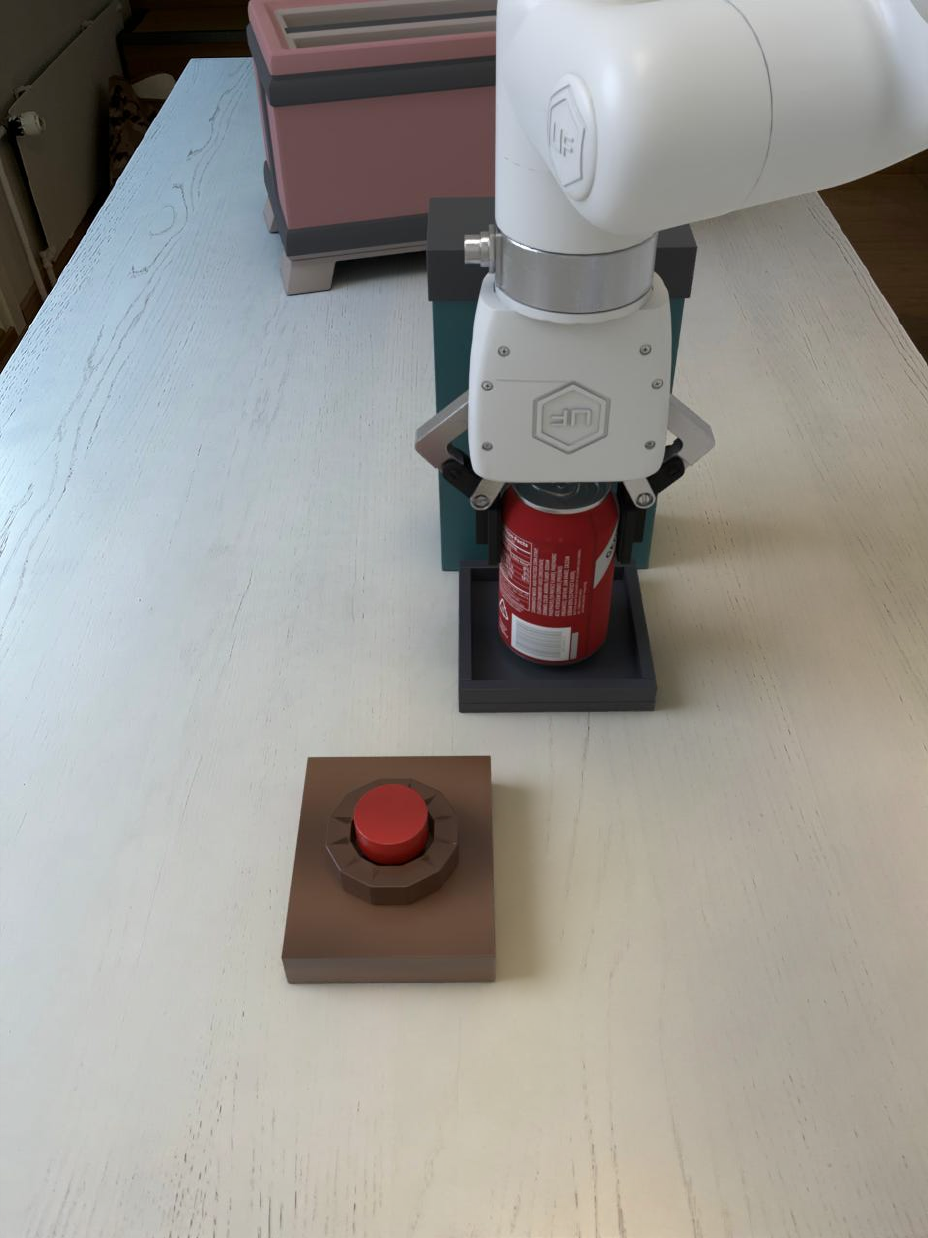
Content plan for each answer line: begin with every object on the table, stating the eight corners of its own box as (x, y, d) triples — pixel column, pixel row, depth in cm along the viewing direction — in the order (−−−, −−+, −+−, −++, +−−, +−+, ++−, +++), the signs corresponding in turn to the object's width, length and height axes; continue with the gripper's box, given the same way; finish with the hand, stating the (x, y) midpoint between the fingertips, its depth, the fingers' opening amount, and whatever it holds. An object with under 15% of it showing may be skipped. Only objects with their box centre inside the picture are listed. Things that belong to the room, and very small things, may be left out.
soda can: (573, 689, 65) (586, 532, 57) (478, 646, 68) (476, 490, 59) (625, 622, 69) (644, 467, 61) (533, 585, 72) (539, 431, 63)
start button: (427, 865, 53) (426, 844, 52) (353, 865, 53) (350, 844, 52) (429, 804, 56) (428, 783, 54) (359, 805, 56) (356, 784, 54)
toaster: (628, 251, 108) (650, 24, 94) (286, 295, 103) (255, 60, 88) (568, 177, 122) (579, -32, 108) (263, 212, 116) (232, -4, 102)
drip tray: (654, 711, 65) (657, 688, 63) (458, 712, 65) (458, 689, 63) (632, 580, 73) (635, 558, 72) (459, 582, 73) (458, 559, 72)
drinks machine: (651, 572, 74) (697, 246, 58) (438, 574, 74) (426, 249, 58) (639, 510, 79) (679, 193, 63) (440, 512, 79) (429, 196, 63)
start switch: (495, 982, 52) (495, 939, 50) (287, 983, 52) (276, 940, 50) (490, 782, 61) (490, 736, 58) (312, 783, 61) (304, 737, 58)
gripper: (385, 298, 49) (406, 594, 61) (776, 293, 48) (717, 591, 61) (393, 226, 54) (410, 511, 66) (744, 221, 54) (696, 508, 66)
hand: (557, 547), depth 63 cm, fingers closed on soda can, 6 cm apart
